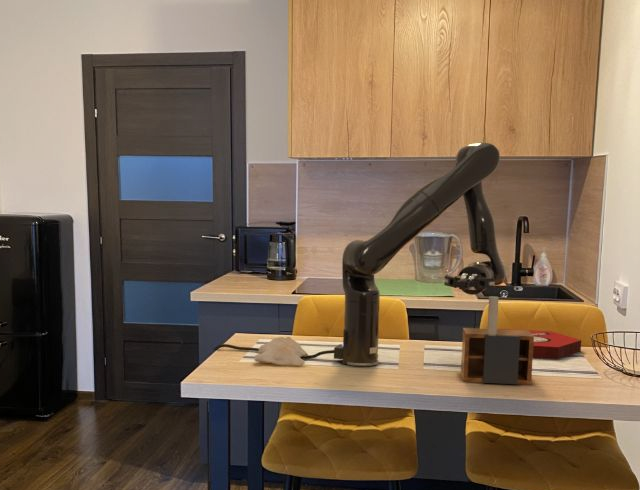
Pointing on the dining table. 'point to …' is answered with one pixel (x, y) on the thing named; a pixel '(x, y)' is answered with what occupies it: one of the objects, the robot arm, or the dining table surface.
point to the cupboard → (475, 354)
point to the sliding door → (499, 351)
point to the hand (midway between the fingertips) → (462, 285)
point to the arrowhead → (281, 352)
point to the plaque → (553, 345)
